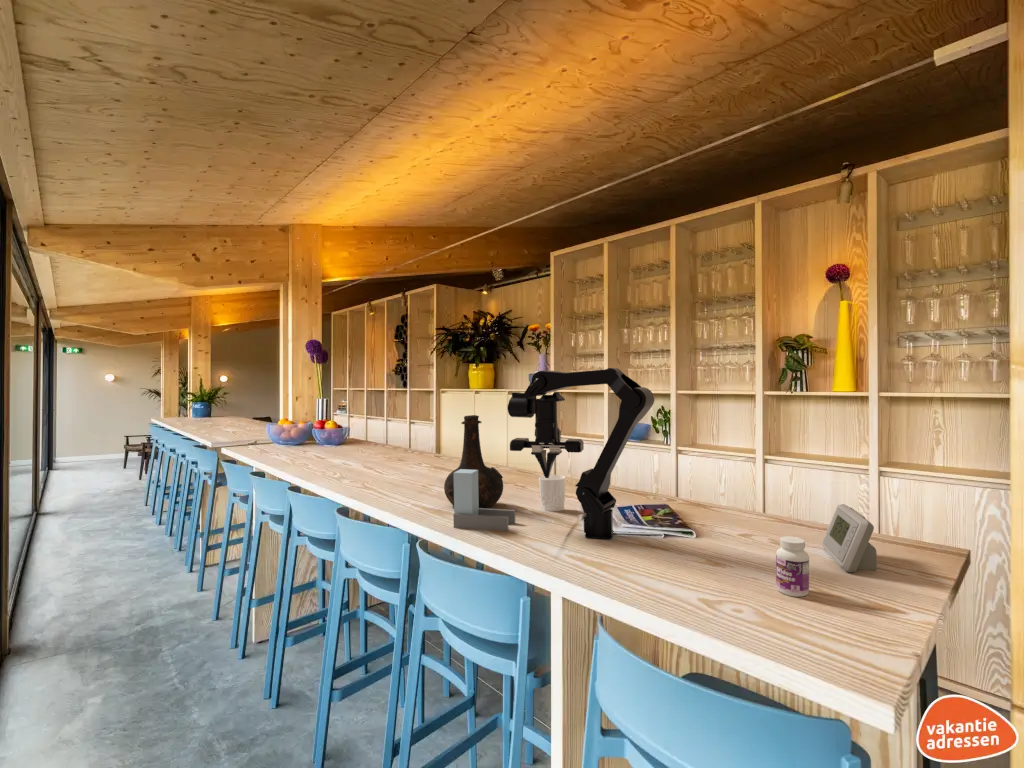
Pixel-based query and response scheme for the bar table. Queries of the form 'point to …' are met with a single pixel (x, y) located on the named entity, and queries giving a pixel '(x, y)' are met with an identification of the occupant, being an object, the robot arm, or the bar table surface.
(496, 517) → the chute
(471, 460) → the dark brown round-bodied bottle
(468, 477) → the block
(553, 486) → the white cup
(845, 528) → the digital clock
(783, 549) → the pill bottle
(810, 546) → the bar table surface
